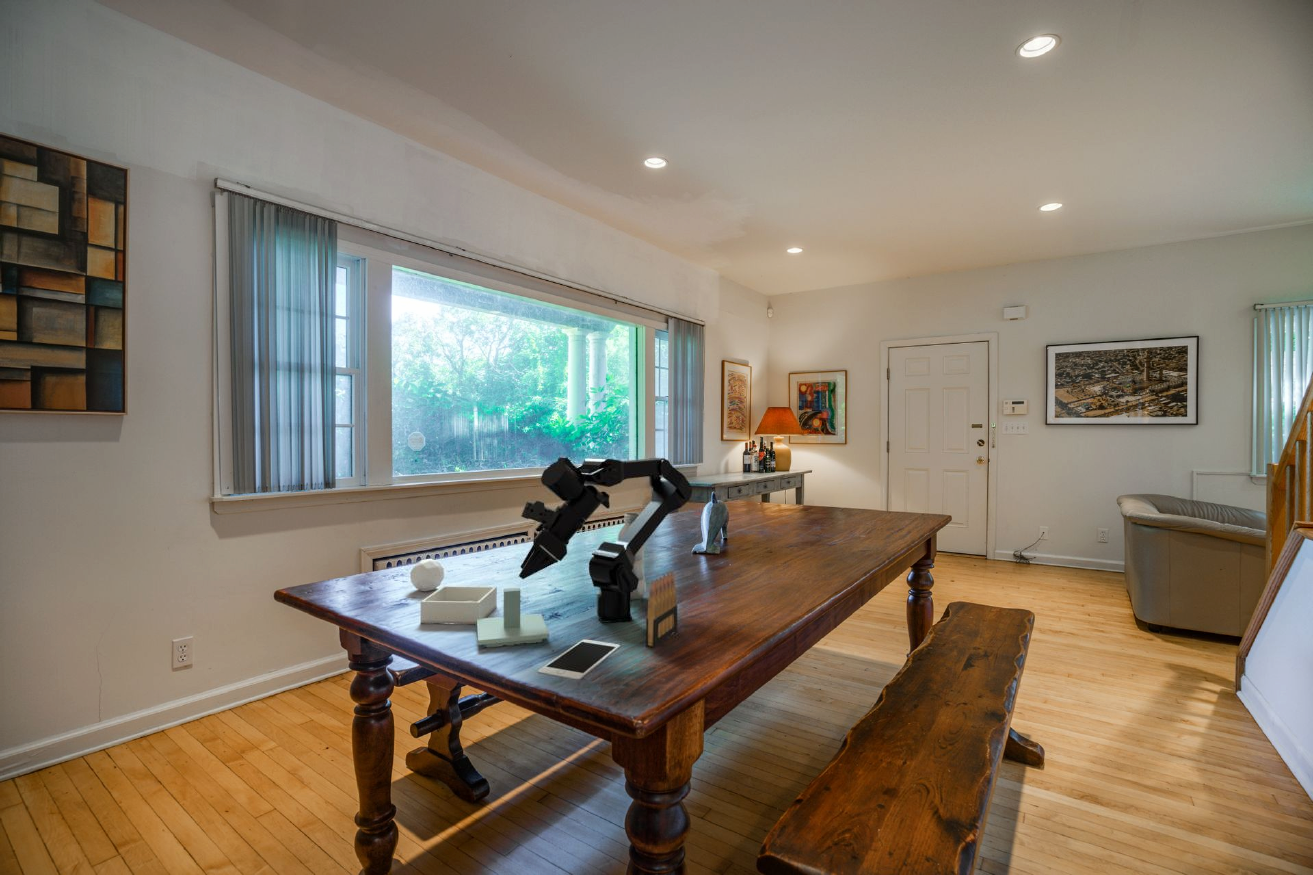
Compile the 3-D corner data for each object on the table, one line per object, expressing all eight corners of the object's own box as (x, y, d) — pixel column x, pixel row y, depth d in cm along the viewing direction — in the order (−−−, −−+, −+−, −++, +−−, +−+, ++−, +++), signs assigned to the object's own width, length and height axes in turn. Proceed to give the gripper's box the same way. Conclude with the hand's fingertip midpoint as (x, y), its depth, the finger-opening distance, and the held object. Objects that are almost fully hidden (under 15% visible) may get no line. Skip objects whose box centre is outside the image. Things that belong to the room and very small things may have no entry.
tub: (496, 607, 131) (496, 586, 131) (479, 624, 119) (479, 602, 119) (443, 606, 131) (443, 586, 131) (420, 623, 119) (420, 601, 119)
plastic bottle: (642, 603, 134) (643, 516, 134) (614, 601, 136) (614, 515, 136) (648, 595, 141) (649, 512, 141) (621, 594, 142) (622, 511, 142)
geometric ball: (435, 599, 146) (456, 572, 147) (417, 596, 139) (438, 568, 140) (416, 581, 149) (436, 555, 150) (397, 577, 141) (418, 549, 143)
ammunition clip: (654, 648, 107) (654, 582, 107) (645, 646, 108) (645, 581, 108) (677, 630, 117) (678, 570, 116) (669, 629, 117) (669, 569, 117)
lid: (541, 622, 121) (541, 579, 121) (549, 643, 109) (549, 596, 109) (477, 628, 117) (477, 583, 117) (478, 650, 105) (478, 601, 105)
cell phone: (536, 674, 96) (536, 671, 96) (583, 642, 111) (583, 638, 111) (578, 682, 93) (578, 678, 93) (621, 648, 108) (621, 644, 108)
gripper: (544, 483, 125) (493, 540, 123) (544, 487, 107) (485, 553, 104) (583, 517, 126) (533, 574, 124) (590, 526, 108) (532, 593, 106)
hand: (521, 573), depth 114 cm, fingers open, 9 cm apart
